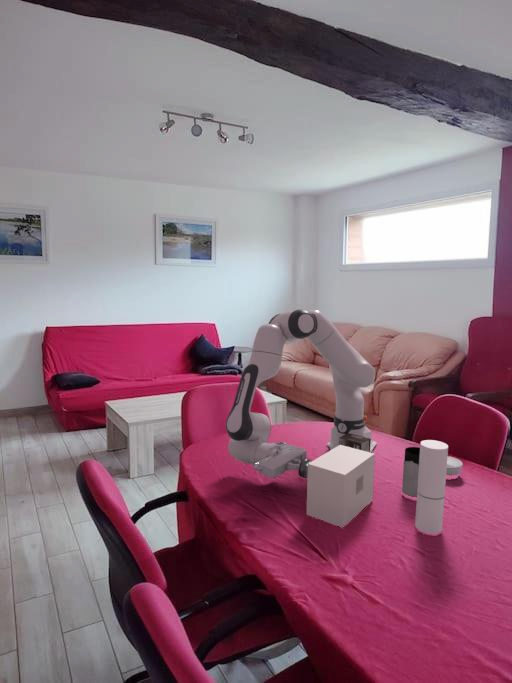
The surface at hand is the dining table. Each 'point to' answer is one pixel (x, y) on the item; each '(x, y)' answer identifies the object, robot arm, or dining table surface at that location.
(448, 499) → the dining table surface
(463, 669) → the dining table surface
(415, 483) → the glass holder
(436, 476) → the cylindrical container
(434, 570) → the dining table surface
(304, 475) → the plunger
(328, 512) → the box
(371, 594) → the dining table surface
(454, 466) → the ramekin
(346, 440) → the coffee box
